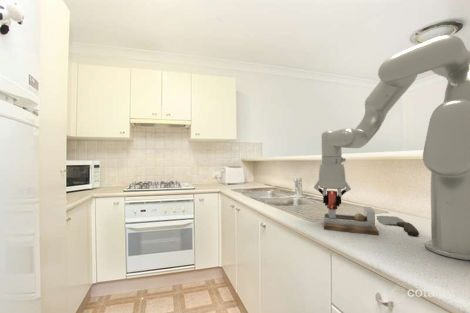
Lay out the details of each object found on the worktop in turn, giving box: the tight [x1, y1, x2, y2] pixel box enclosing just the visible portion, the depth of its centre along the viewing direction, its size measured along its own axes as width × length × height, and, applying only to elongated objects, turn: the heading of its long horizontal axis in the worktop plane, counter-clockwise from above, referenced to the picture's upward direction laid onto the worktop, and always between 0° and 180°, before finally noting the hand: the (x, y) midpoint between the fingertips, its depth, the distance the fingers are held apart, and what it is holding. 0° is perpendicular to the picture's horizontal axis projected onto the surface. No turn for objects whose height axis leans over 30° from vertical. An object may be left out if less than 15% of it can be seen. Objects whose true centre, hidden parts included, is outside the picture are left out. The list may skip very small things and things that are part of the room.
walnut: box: [354, 213, 366, 221], centre depth 90 cm, size 4×4×4 cm
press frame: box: [323, 206, 376, 228], centre depth 92 cm, size 18×10×6 cm, turn 67°
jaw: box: [326, 190, 338, 219], centre depth 94 cm, size 4×7×12 cm, turn 157°
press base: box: [323, 223, 380, 236], centre depth 91 cm, size 18×16×2 cm
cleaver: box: [376, 215, 420, 237], centre depth 93 cm, size 29×10×2 cm, turn 162°
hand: (332, 205), depth 94 cm, fingers closed on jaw, 4 cm apart
